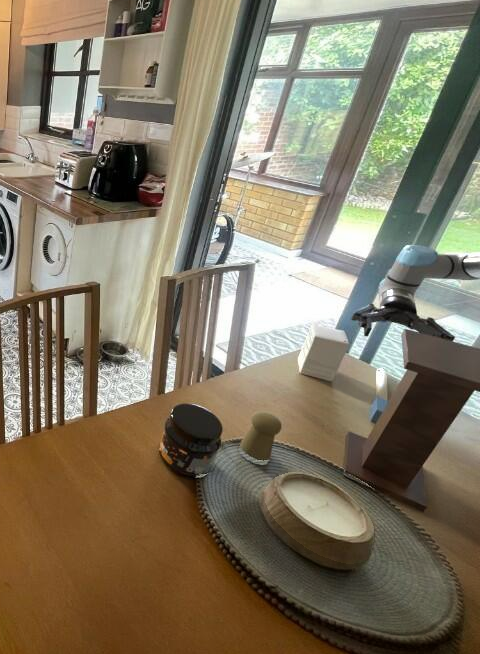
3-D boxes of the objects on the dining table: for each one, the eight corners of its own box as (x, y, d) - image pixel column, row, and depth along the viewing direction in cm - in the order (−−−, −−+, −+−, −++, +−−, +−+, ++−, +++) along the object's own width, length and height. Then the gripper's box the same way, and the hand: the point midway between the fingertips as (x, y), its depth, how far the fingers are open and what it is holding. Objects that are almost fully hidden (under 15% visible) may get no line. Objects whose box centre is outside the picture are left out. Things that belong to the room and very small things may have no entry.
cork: (240, 460, 89) (255, 423, 84) (234, 439, 94) (248, 403, 89) (273, 468, 87) (290, 431, 82) (265, 447, 92) (281, 410, 87)
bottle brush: (388, 376, 113) (394, 365, 112) (390, 428, 97) (397, 417, 95) (371, 370, 115) (376, 360, 114) (370, 420, 99) (376, 409, 97)
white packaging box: (328, 367, 117) (345, 330, 111) (332, 382, 111) (350, 344, 106) (296, 359, 120) (311, 323, 115) (298, 373, 115) (314, 335, 109)
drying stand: (418, 465, 88) (495, 352, 75) (423, 512, 78) (512, 393, 65) (345, 435, 95) (404, 328, 82) (342, 475, 86) (408, 361, 73)
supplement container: (153, 437, 95) (163, 398, 90) (202, 444, 93) (216, 404, 88) (163, 476, 86) (175, 435, 80) (217, 485, 84) (234, 444, 78)
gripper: (451, 331, 117) (463, 371, 103) (338, 304, 132) (336, 335, 118) (465, 309, 114) (479, 347, 100) (348, 283, 128) (346, 314, 114)
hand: (402, 341), depth 109 cm, fingers open, 13 cm apart
